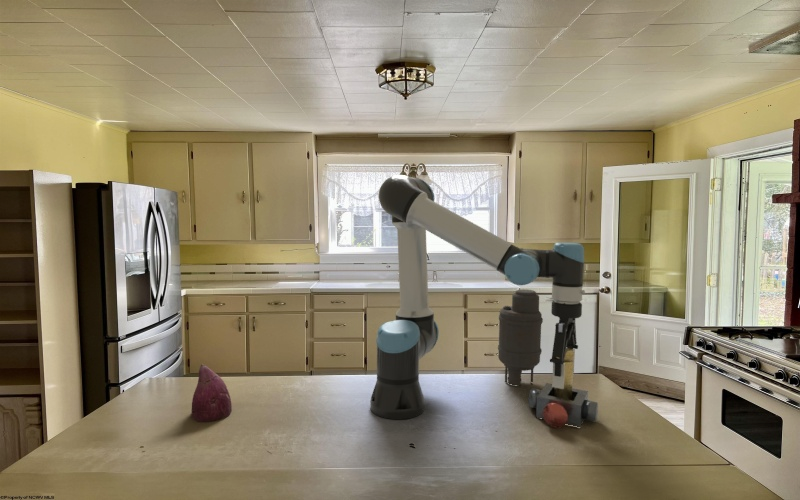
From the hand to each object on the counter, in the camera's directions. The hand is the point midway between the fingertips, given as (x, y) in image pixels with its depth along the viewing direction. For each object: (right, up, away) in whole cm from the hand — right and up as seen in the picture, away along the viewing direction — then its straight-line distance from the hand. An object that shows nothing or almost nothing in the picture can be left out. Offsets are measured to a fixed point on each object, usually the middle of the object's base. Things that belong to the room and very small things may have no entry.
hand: (563, 379), depth 119 cm
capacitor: (-6, -8, +24) cm, 26 cm away
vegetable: (-94, -9, 0) cm, 95 cm away
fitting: (0, -7, +1) cm, 7 cm away
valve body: (-1, -10, -1) cm, 10 cm away
